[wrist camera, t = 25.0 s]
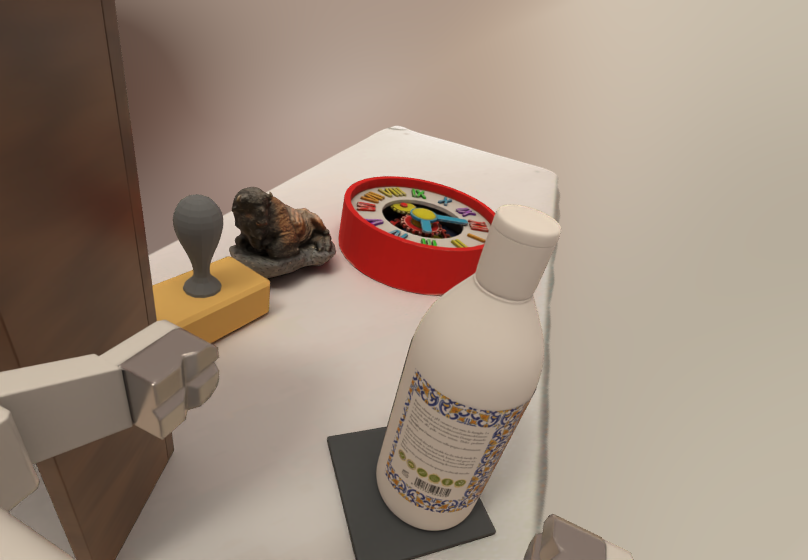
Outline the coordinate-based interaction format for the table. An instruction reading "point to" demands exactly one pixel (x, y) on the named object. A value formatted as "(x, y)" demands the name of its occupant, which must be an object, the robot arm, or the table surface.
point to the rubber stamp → (209, 278)
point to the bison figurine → (277, 235)
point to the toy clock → (413, 233)
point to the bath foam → (468, 377)
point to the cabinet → (74, 243)
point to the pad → (370, 516)
